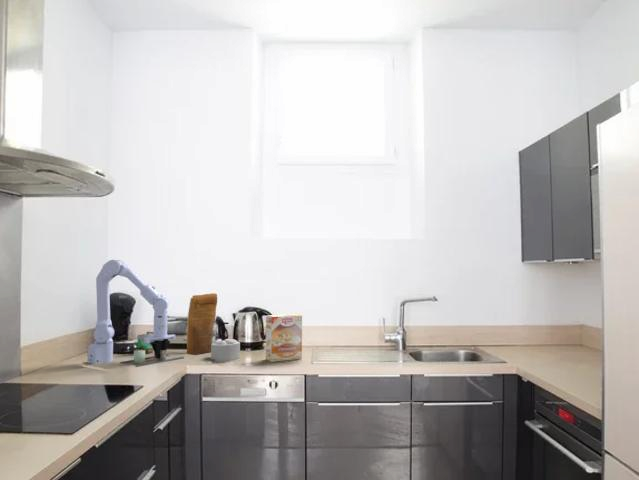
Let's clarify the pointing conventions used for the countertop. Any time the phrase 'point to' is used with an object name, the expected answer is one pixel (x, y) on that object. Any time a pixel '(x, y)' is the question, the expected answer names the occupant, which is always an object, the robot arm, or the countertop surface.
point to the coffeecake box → (283, 337)
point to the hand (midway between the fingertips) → (159, 357)
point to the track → (152, 362)
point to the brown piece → (162, 357)
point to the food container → (145, 346)
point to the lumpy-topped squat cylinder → (225, 350)
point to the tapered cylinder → (139, 356)
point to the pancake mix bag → (201, 323)
